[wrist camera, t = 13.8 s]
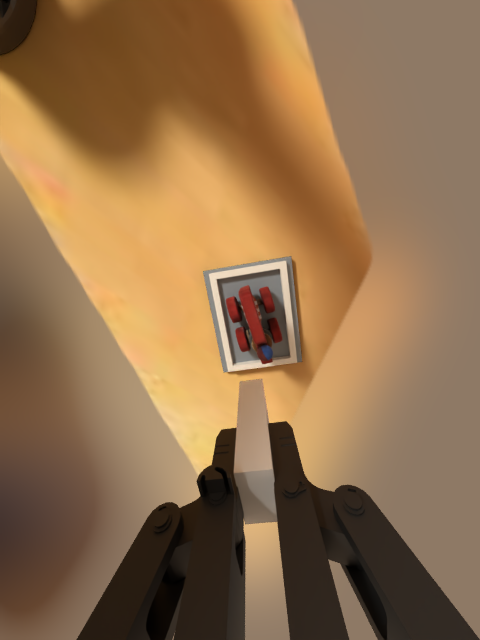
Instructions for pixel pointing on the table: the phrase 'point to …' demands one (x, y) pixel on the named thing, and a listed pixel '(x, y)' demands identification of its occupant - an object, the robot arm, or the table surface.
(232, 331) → the base board
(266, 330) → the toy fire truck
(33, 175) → the table surface
